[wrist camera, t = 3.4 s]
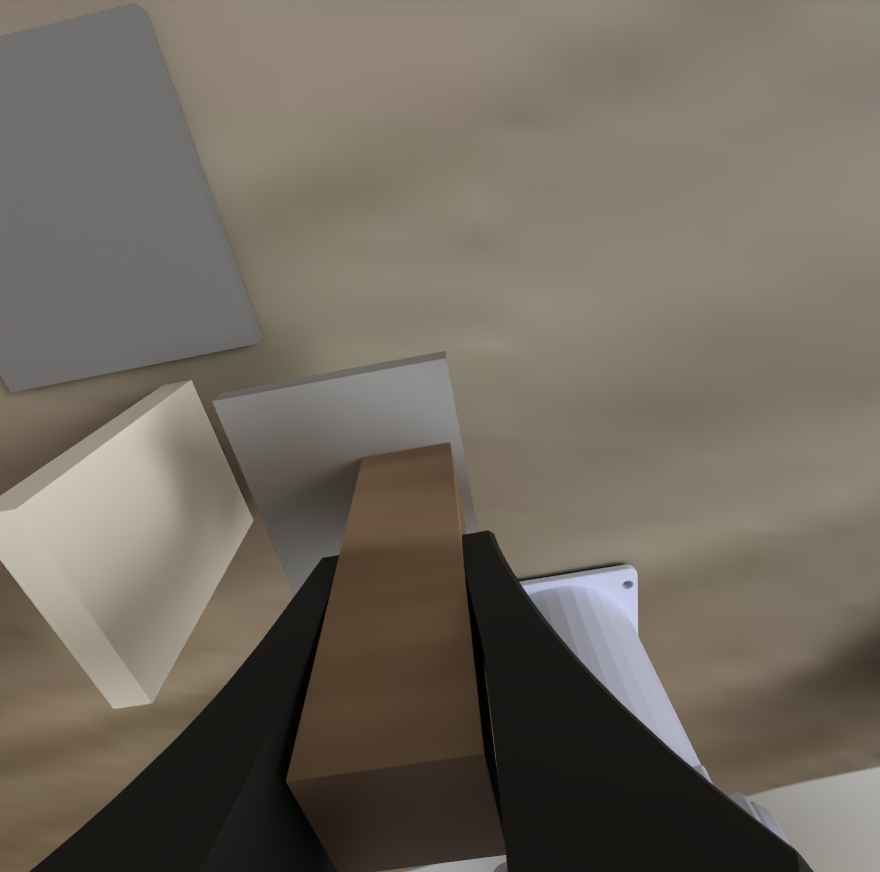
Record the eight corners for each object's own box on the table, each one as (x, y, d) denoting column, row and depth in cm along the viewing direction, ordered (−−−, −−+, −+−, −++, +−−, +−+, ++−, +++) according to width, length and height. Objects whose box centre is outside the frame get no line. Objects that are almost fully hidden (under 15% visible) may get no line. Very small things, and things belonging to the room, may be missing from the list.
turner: (482, 559, 15) (542, 922, 8) (302, 588, 16) (185, 965, 8) (445, 351, 12) (481, 608, 5) (220, 392, 13) (-101, 699, 5)
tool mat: (263, 339, 18) (258, 343, 18) (22, 387, 19) (10, 392, 18) (146, 10, 14) (134, 3, 14) (-162, 86, 15) (-184, 81, 14)
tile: (253, 520, 22) (152, 703, 14) (224, 525, 22) (107, 709, 14) (191, 379, 19) (15, 508, 11) (158, 386, 19) (-41, 519, 11)
